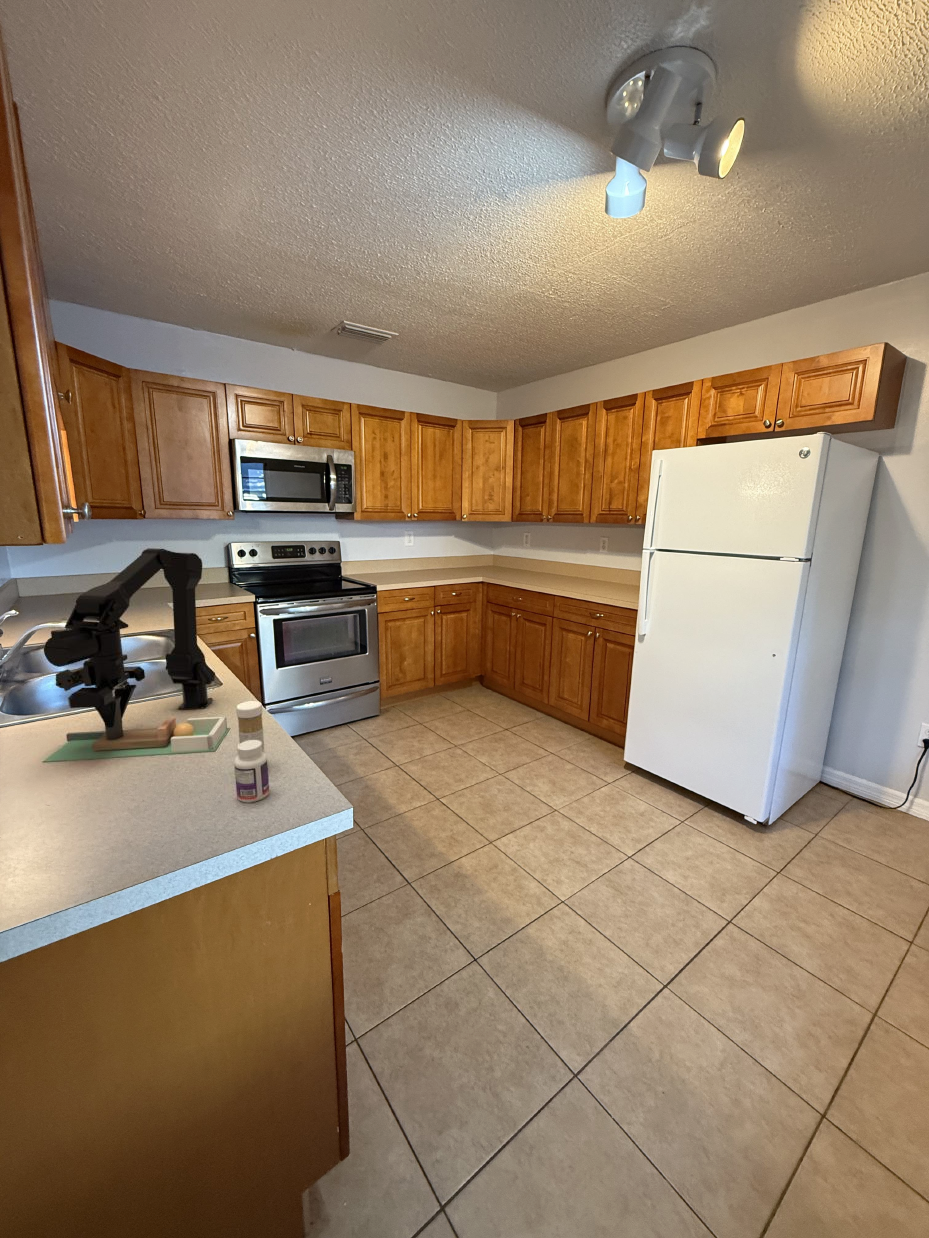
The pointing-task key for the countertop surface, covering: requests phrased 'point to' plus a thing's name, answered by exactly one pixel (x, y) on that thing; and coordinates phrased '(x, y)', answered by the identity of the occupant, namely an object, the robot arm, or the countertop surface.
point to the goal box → (201, 741)
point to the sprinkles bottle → (250, 722)
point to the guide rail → (91, 735)
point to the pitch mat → (114, 750)
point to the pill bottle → (251, 772)
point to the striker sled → (134, 736)
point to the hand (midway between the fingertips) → (114, 723)
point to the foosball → (183, 730)
